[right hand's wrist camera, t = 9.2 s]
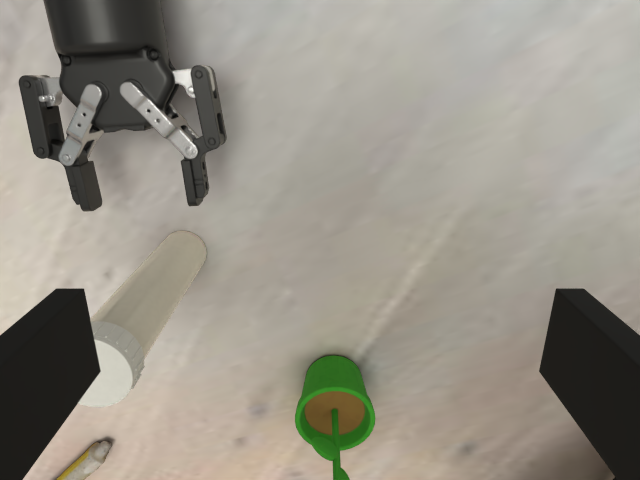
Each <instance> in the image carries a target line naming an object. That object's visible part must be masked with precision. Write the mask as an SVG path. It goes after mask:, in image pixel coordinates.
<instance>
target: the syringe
mask: <svg viewBox="0 0 640 480" xmlns="http://www.w3.org/2000/svg"><path fill="white" fill-rule="evenodd" d="M111 447H112V444H111V442H107V441H102V442H101V443H99V442H96V443H94V444H93V445H91V446H90V447H89V448H88V449H87V450H86V452H85V453H84V454H83V455H82V456H81V457H79V458H78V459H77V460H76V461H75V462H74V463H73V464H72V465H71V466H69V467H68V468H67V469H66V470H65V471H64V472H63V473H62V474H61V475H60V476H59V477H58V478H57V479H56V480H84V479H85V478H86V477H88V476H89V475H90V474H91V473H93V472H94V471H95V470H97V469H98V468H99V466H100V465H101V464H102V463H103V462H104V461H105V459H106V456H107V454H108V451H109V449H110V448H111Z"/></svg>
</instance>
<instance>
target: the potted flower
mask: <svg viewBox="0 0 640 480" xmlns="http://www.w3.org/2000/svg"><path fill="white" fill-rule="evenodd" d="M295 423H296V428H297V430H298V432H299V434H300V435H301V436H302V438H303V439H304V440H306V441H307V442H308V443H309V444H311V445H312V446H313V448H314V449H315V450H316V451H317V453H318V454H320V455H321V456H322V457H323V458H325V459H327V460H330V461H333V480H349V477H348V475H347V474H346V472H345V471H344V470H343V469H342V468H341V467H340V451H341V450H346V449H350V448H353V447H355V446H357V445H359V444H360V443H362V442H363V441H364V440H365V439H366V438H367V437H368V436H369V435H370V433H371V432H372V430H373V427H374V425H375V413H374V409H373V406H372V403H371V401H370V398H369V397H368V395H367V393H366V389H365V386H364V383H363V379H362V376H361V373H360V370H359V368H358V367H357V366H356V365H355V364H354V363H353V362H352V361H350V360H349V359H347V358H345V357H341V356H326V357H323V358H320V359H318V360H317V361H316V362H314V363H313V364H312V365H311V366H310V367H309V369H308V371H307V374H306V378H305V382H304V387H303V392H302V396H301V398H300V400H299V402H298V405H297V410H296V414H295Z"/></svg>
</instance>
